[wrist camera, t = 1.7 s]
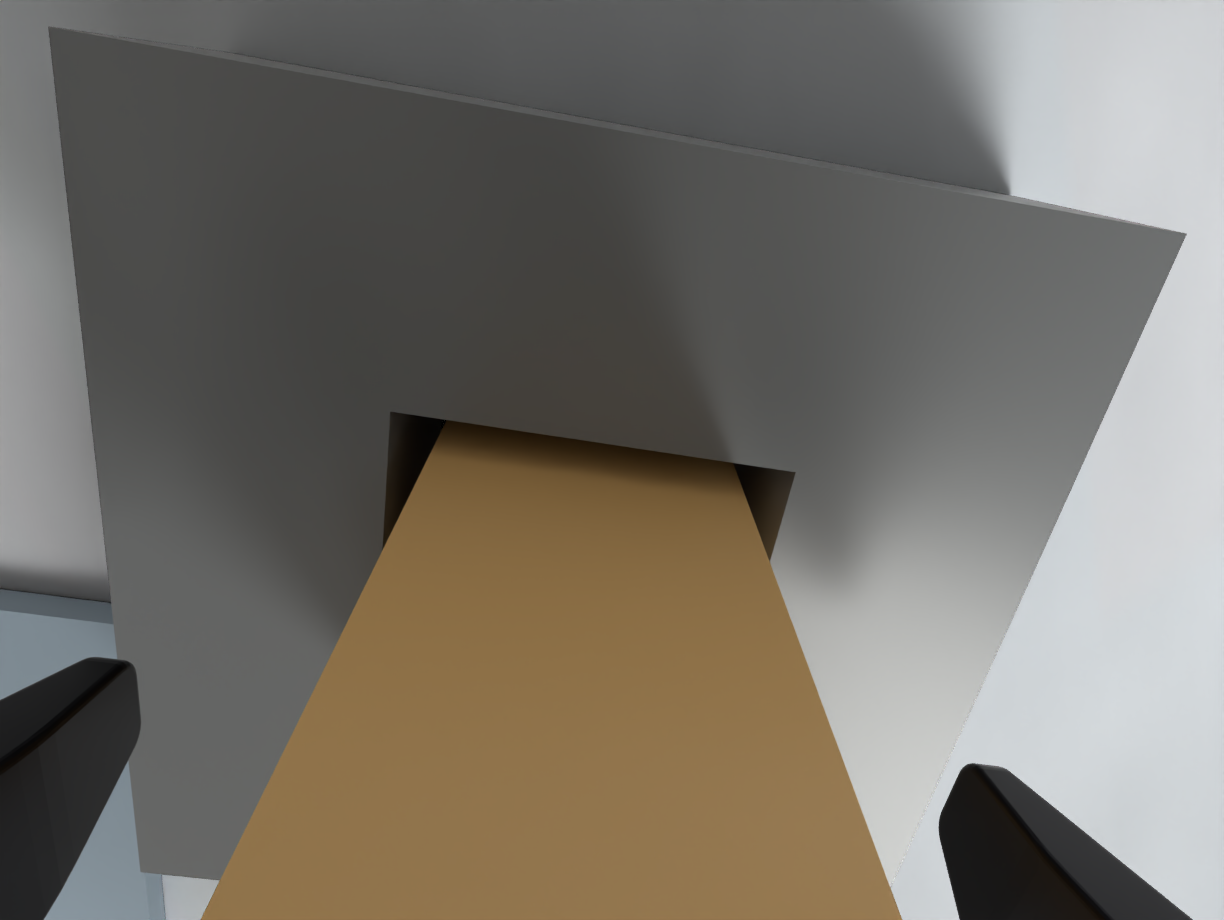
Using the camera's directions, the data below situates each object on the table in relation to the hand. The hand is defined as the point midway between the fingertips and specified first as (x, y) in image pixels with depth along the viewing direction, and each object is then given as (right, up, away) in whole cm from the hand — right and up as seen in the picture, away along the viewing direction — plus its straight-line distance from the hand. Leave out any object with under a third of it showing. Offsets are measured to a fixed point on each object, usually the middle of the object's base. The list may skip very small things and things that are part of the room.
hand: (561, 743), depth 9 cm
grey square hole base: (0, +3, +6) cm, 6 cm away
